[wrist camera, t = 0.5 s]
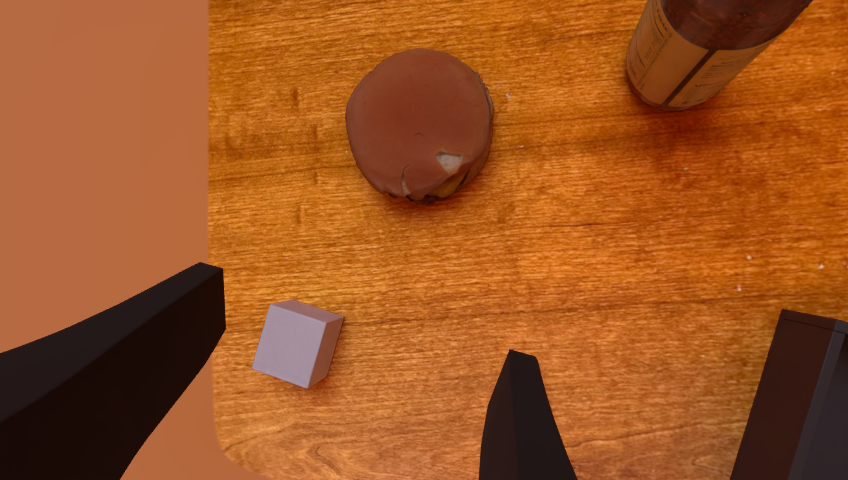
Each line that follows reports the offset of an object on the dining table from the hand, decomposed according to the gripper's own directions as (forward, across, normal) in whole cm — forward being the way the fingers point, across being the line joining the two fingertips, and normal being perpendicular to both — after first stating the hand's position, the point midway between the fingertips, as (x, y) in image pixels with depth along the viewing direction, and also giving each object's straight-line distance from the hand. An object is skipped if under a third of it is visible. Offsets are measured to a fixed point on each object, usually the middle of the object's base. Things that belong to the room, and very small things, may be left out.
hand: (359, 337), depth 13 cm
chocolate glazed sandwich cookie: (+25, +2, +5) cm, 25 cm away
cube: (+16, +7, +18) cm, 25 cm away
